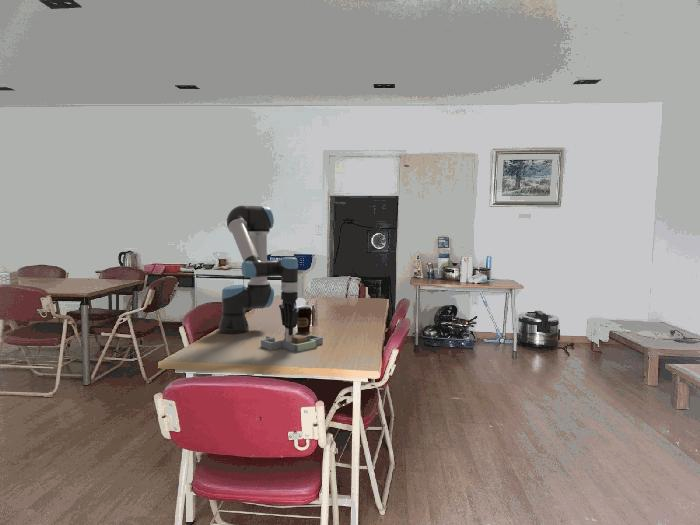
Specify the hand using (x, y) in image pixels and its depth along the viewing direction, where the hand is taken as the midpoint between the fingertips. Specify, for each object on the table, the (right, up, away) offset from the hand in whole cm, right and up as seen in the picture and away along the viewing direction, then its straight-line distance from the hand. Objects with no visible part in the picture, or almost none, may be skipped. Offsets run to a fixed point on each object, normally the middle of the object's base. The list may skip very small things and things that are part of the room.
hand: (289, 341), depth 221 cm
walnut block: (+5, -2, -6) cm, 8 cm away
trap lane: (+1, -1, -1) cm, 2 cm away
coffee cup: (+4, 0, +24) cm, 24 cm away
